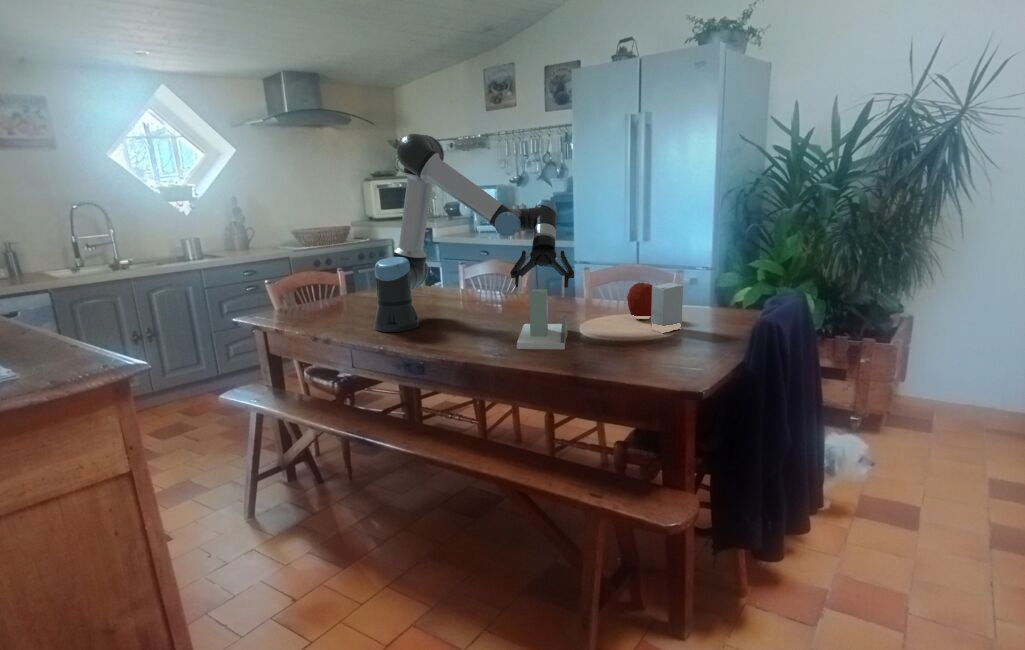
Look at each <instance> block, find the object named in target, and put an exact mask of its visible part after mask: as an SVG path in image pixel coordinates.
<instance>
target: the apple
mask: <svg viewBox="0 0 1025 650" xmlns="http://www.w3.org/2000/svg"><path fill="white" fill-rule="evenodd" d="M652 286H654V285H653V284H650V283H645V282H636V283H634V284H633V285H632V286H631V287H630V288H629V291H628V293H627V296H626V297H627V307H628V310H629V313H630V315H631V316H632V315H634V316H651V309H652Z"/></svg>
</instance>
